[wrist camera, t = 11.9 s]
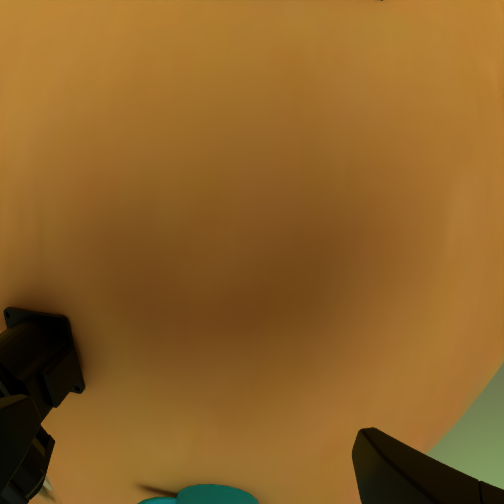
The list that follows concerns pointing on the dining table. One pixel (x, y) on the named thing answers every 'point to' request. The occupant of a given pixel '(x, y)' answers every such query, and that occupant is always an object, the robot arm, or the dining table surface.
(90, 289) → the dining table surface
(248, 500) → the mug
